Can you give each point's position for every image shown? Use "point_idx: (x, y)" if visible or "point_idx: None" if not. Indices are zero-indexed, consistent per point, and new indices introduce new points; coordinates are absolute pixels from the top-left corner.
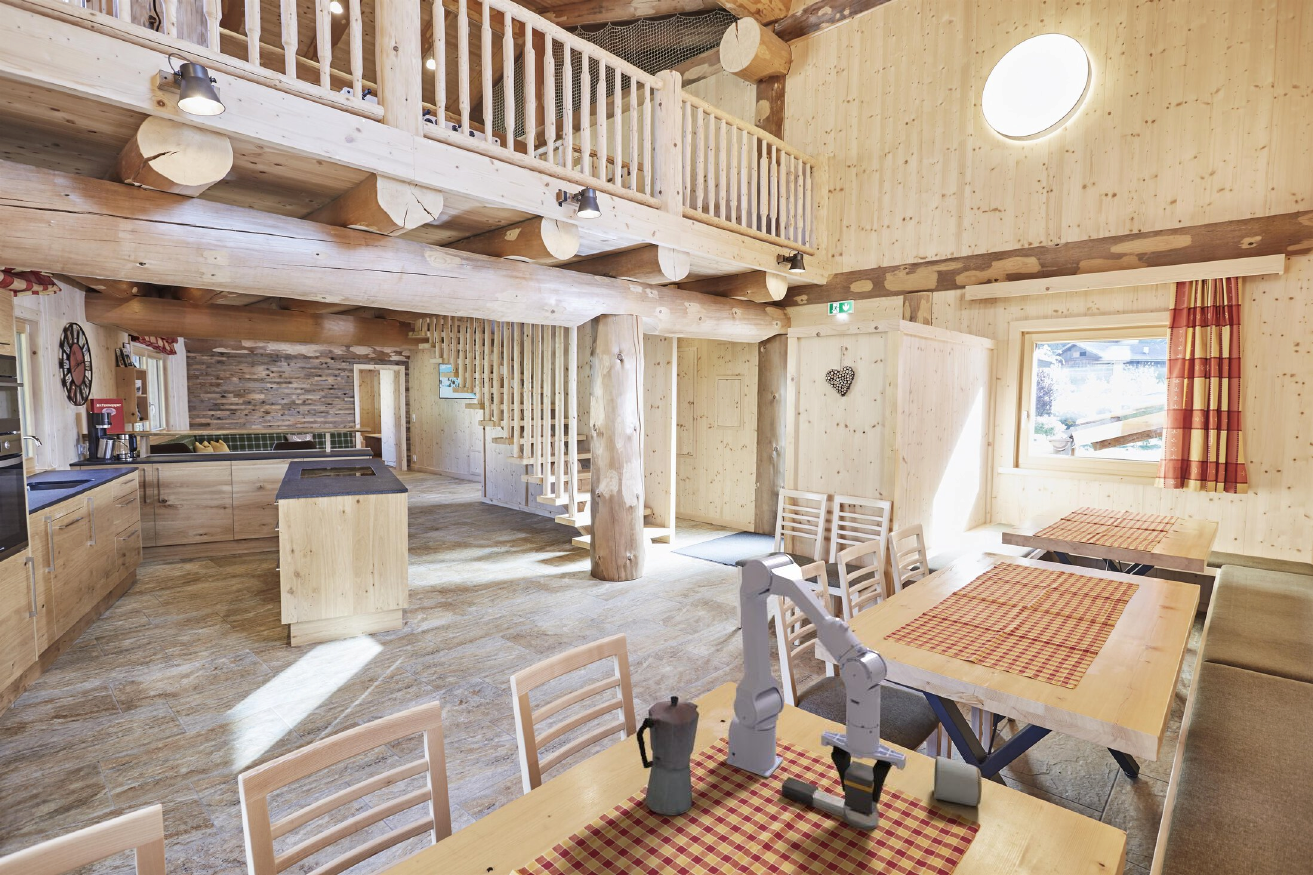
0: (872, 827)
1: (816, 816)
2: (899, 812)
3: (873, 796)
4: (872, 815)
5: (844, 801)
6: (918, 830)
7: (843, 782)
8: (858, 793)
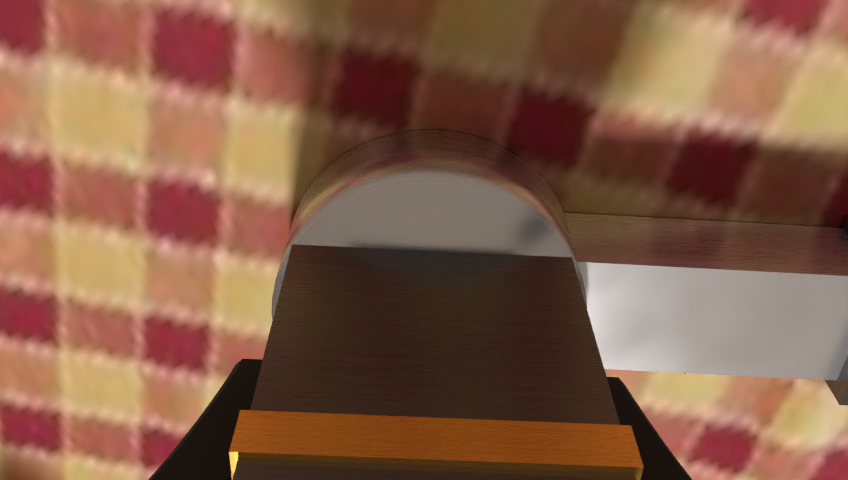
0: (308, 193)
1: (800, 114)
2: None
3: None
4: None
5: None
6: (21, 334)
7: (639, 450)
8: (430, 369)
